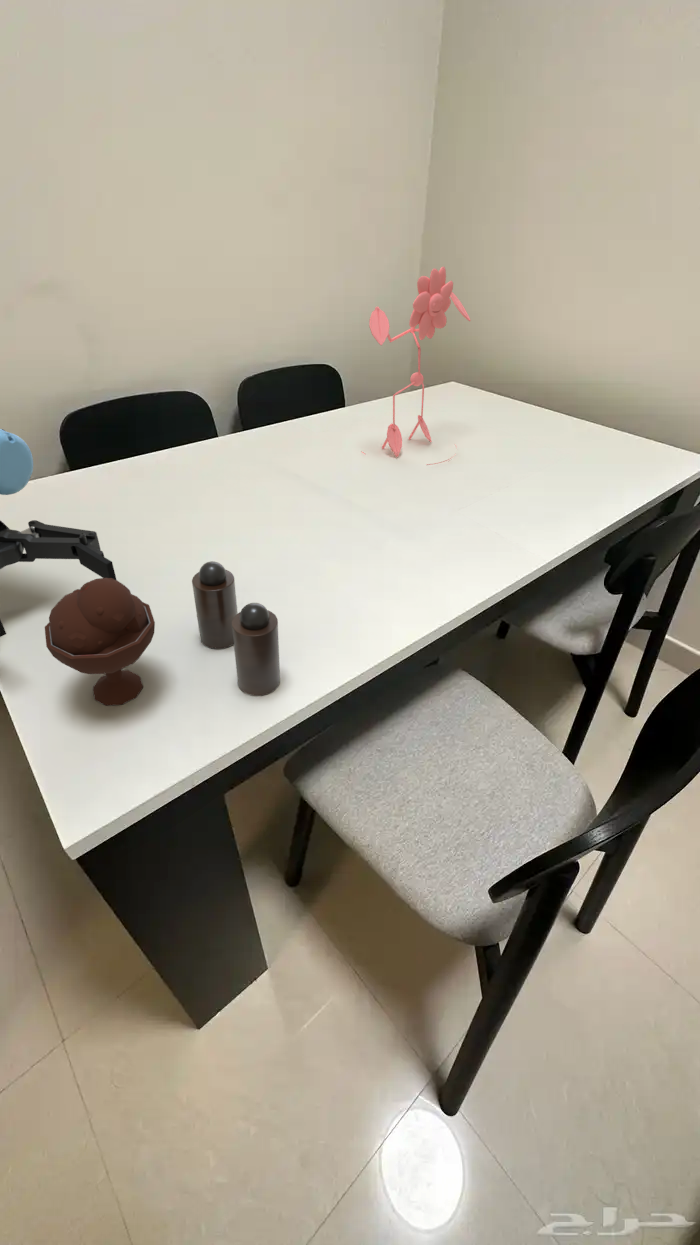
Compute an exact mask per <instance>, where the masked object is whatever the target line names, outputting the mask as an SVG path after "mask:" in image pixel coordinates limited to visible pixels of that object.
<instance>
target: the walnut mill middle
mask: <svg viewBox="0 0 700 1245" xmlns="http://www.w3.org/2000/svg"><path fill="white" fill-rule="evenodd" d="M191 584H192V591H193V592H192V593H193V599H194V606H195V613H196V618H197V625H198V633H199V638H200V642H201V643H202V645H203V646H205V647H206V648H209V649H214V650H222V649H226V648H227V649H228V648H230V647H232V646H234V641H233V631H232V620H233V618H234V617H235V616H236V615H237V614H238V613H239V612H238V604H237V603H238V602H237V592H236V582H235V575H234V574H233V573H232V572H231V571H230V570H228V569H226V568H225V567H224V565H222V564H221V563H220V562H218V561H213V560H212V561H211V560H210V561H207V562H204V564H202V565H201V567H200V568H199V571H198V572H196V574H194V575H193V577H192V579H191Z"/></svg>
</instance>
